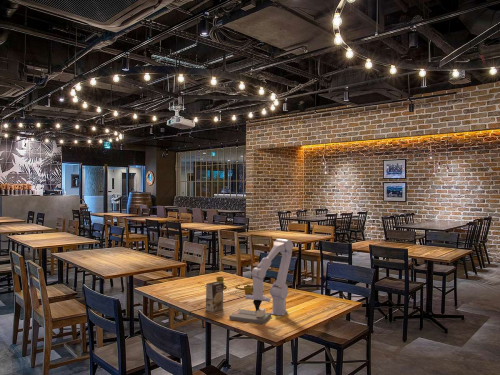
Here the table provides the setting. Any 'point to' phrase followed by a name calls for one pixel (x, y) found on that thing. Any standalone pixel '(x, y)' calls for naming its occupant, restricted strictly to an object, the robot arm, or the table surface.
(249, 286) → the tableware set
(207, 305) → the coffee box
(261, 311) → the breaker knob
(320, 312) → the table surface
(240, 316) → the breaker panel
